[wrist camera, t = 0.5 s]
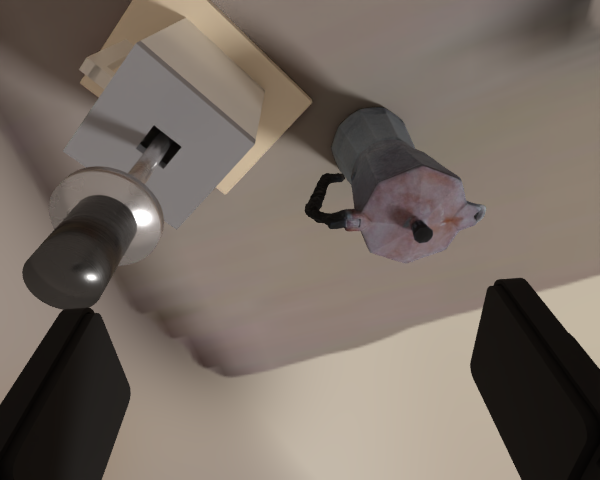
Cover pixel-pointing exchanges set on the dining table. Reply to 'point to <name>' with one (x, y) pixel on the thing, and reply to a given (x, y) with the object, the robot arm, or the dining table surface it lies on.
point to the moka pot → (393, 190)
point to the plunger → (98, 228)
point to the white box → (183, 101)
